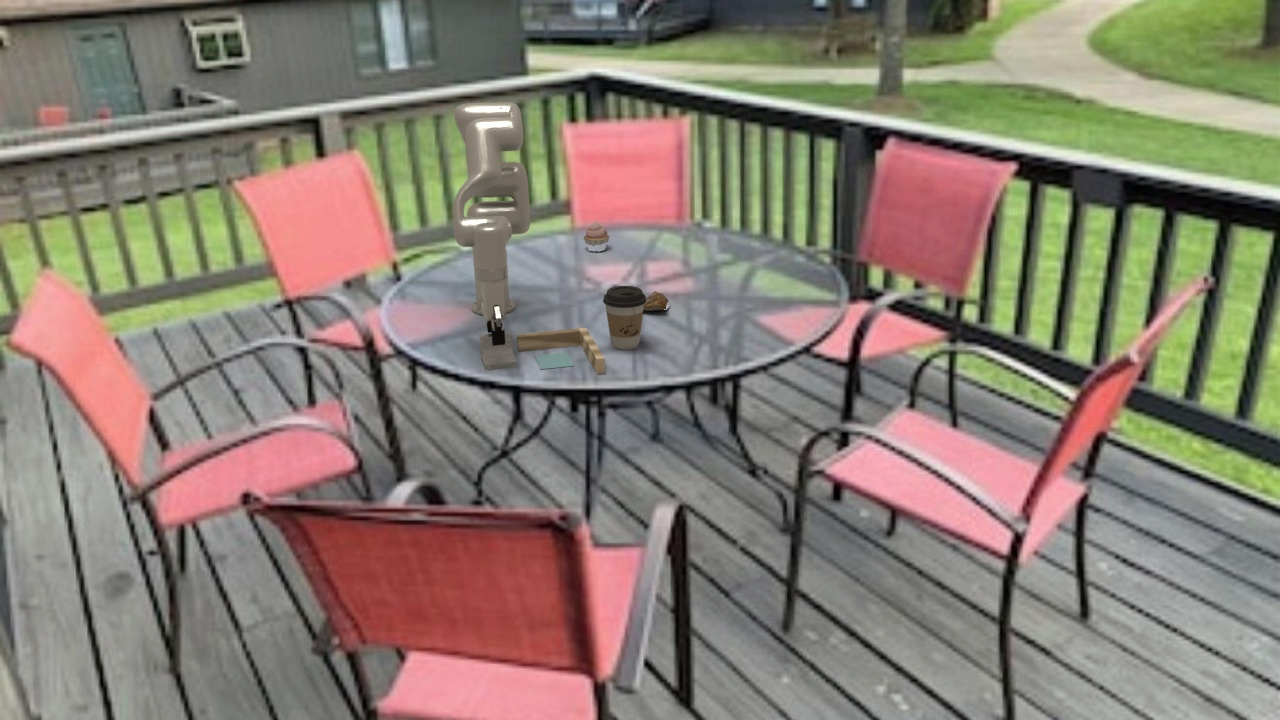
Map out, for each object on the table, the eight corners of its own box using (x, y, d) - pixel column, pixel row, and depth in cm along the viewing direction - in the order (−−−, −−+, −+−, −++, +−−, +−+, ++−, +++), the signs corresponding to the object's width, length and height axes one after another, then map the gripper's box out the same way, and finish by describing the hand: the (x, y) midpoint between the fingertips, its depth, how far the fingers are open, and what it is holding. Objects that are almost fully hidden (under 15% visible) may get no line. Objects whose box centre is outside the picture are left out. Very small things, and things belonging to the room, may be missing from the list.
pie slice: (637, 300, 281) (637, 289, 296) (637, 315, 283) (637, 304, 297) (671, 299, 281) (669, 289, 296) (671, 315, 283) (669, 303, 297)
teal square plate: (534, 356, 256) (534, 355, 256) (567, 353, 258) (567, 352, 258) (540, 369, 248) (540, 369, 248) (574, 366, 250) (574, 365, 250)
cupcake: (613, 247, 348) (613, 219, 344) (605, 254, 340) (604, 226, 336) (588, 245, 350) (587, 217, 346) (579, 252, 342) (578, 224, 338)
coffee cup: (613, 355, 257) (612, 300, 251) (597, 340, 266) (596, 287, 260) (653, 348, 261) (653, 294, 255) (636, 334, 270) (636, 282, 265)
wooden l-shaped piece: (517, 348, 261) (516, 334, 260) (586, 341, 266) (585, 327, 264) (531, 381, 242) (530, 366, 240) (605, 373, 246) (604, 358, 245)
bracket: (512, 357, 256) (511, 331, 254) (516, 367, 250) (515, 341, 247) (481, 360, 254) (479, 334, 252) (484, 370, 248) (483, 344, 246)
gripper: (472, 265, 252) (477, 328, 258) (480, 284, 237) (485, 351, 243) (502, 262, 254) (506, 326, 260) (512, 281, 238) (516, 348, 245)
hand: (496, 338), depth 252 cm, fingers open, 9 cm apart
